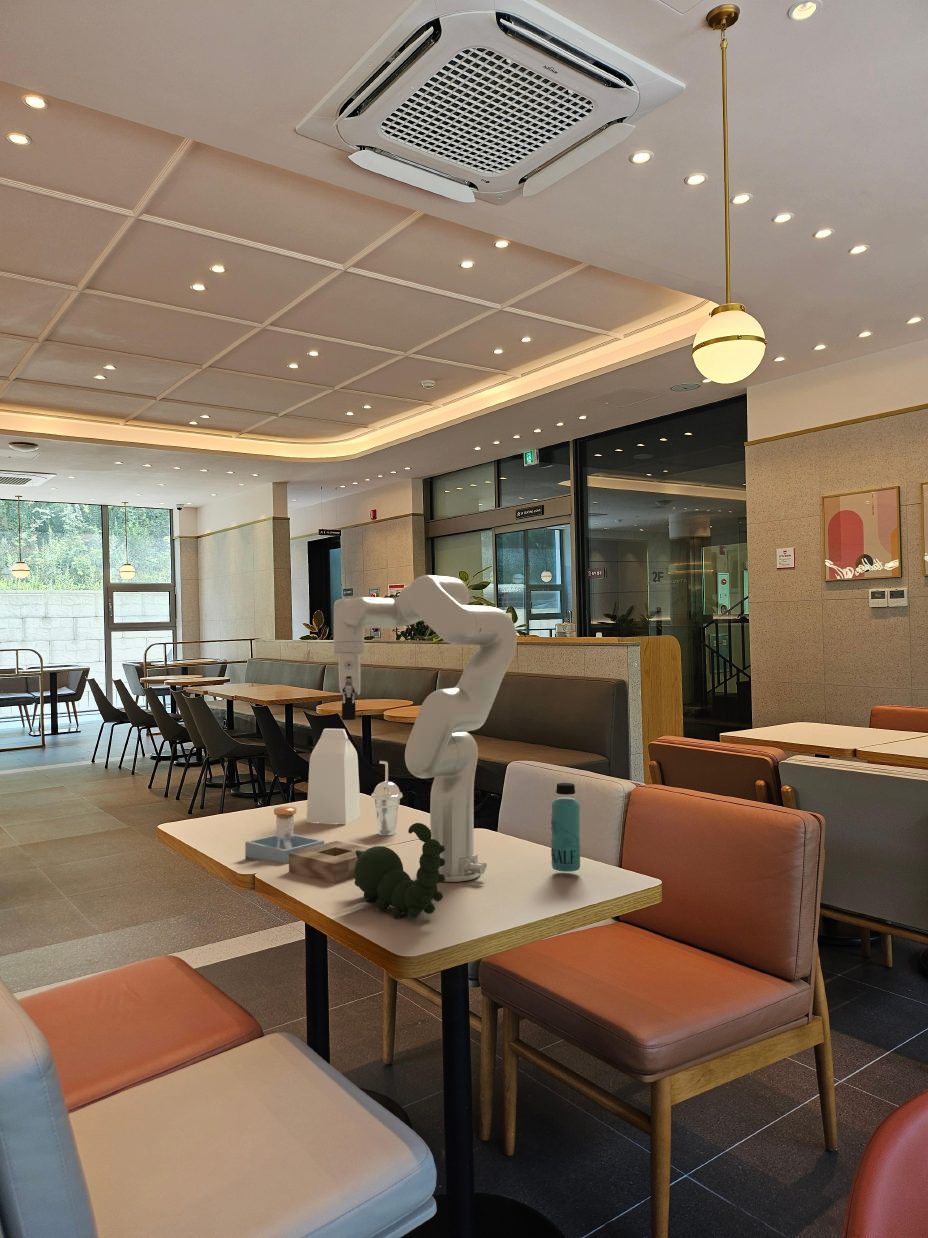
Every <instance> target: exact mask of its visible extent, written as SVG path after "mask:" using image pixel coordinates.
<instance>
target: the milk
mask: <svg viewBox="0 0 928 1238" xmlns="http://www.w3.org/2000/svg"><path fill="white" fill-rule="evenodd" d="M358 755H359V754H358V753H357V750H356V748H355V747H354V745H353V743H352V742H351V740H350V739H349V736H348V735H347V732H346V729H345V728H324V729H323V730H322V733H321V735H320V737H319V739H318V741H317V743H316V745H315V746H314V748H313V749H312V751H311V754H310V757H309V768H308V784H307V785H308V786H307V787H308V788H307V799H306V800H307V803H306V820H305V823H306V822H319V823H338V824H347V823H349V822H350V823H351V821H352V820H354V819H356V818H357V817H359V816H360V815H361V799H360V796H361V795H360V778H359V777H360V776H359V774H360V773H359V759H358ZM361 816H362V815H361ZM359 818H360V817H359ZM357 819H358V818H357ZM357 819H356V820H357ZM354 821H355V820H354ZM352 822H353V821H352ZM319 823H318V824H319ZM350 823H349V824H350ZM347 825H348V824H347Z"/></svg>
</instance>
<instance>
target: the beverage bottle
mask: <svg viewBox="0 0 928 1238" xmlns="http://www.w3.org/2000/svg"><path fill="white" fill-rule="evenodd" d="M575 787H576V786H575V784H574V783H571V782H559V783H557V784H556V791H555V793H556V794H558V795H565V797H557V798H555V799H554V800H553V801H552V803H551V818H550V819H551V820H550V821H551V822H550V824H551V825H550V830H551V840H550V844H551V848H550V849H551V851H550V852H551V853H550V854H551V862H550V863H551V867H552V869H553V870H555V871H558V872H566V873H568V872H576V871H579V870H580V867H581V839H580V838H581V837H580V835H581V834H580V833H581V831H580V824H581V823H580V822H581V821H580V818H581V817H580V815H581V813H580V812H581V811H580V810H581V809H580V807H581V804H580V802H579V801H578V800H577V799H576V798H573V797H569V796H568V795H575V794H576V789H575ZM566 795H567V797H566Z"/></svg>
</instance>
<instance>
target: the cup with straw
mask: <svg viewBox="0 0 928 1238" xmlns="http://www.w3.org/2000/svg"><path fill="white" fill-rule="evenodd" d="M376 763H377V764H383V765H384V766H385V767H384V768H385V774H384V775H385V776H384V777H385V778H384V779H385V781H382V782H379V783H378V784H377V785H376V786H375V788H374V789H373V790H374V791H373V792H372V793H371V796H370V798H371V799H372V800H373V804H374V808H375V818H376V825H377V830H378V835H380V836H393V835H395V834H396V829H397V823H398V822H397V821H398V811H399V807H400V802H401V801H400V800H401V799H402V798H403V797H404V796H403V793H402V792H401V790H400V788H399V786H398V785H397V784H396V783H394V782H393V781H389V763H388V761H386V760H385V761H384V760H377V762H376Z"/></svg>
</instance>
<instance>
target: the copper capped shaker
mask: <svg viewBox="0 0 928 1238" xmlns="http://www.w3.org/2000/svg"><path fill="white" fill-rule="evenodd" d="M273 814H274V815H276V816H275V818H276V819H275V820H276V821H275V822H276V825H275V827H276V829H275V831H276V832H275V833H276V834H275V835H276V848H280V849H284V850H286V849H290V848H294V835H295V831H294V823H295V822H294V818H295V816H294V815H295V814H297V807H295V806H279V807H275V808H273Z"/></svg>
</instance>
